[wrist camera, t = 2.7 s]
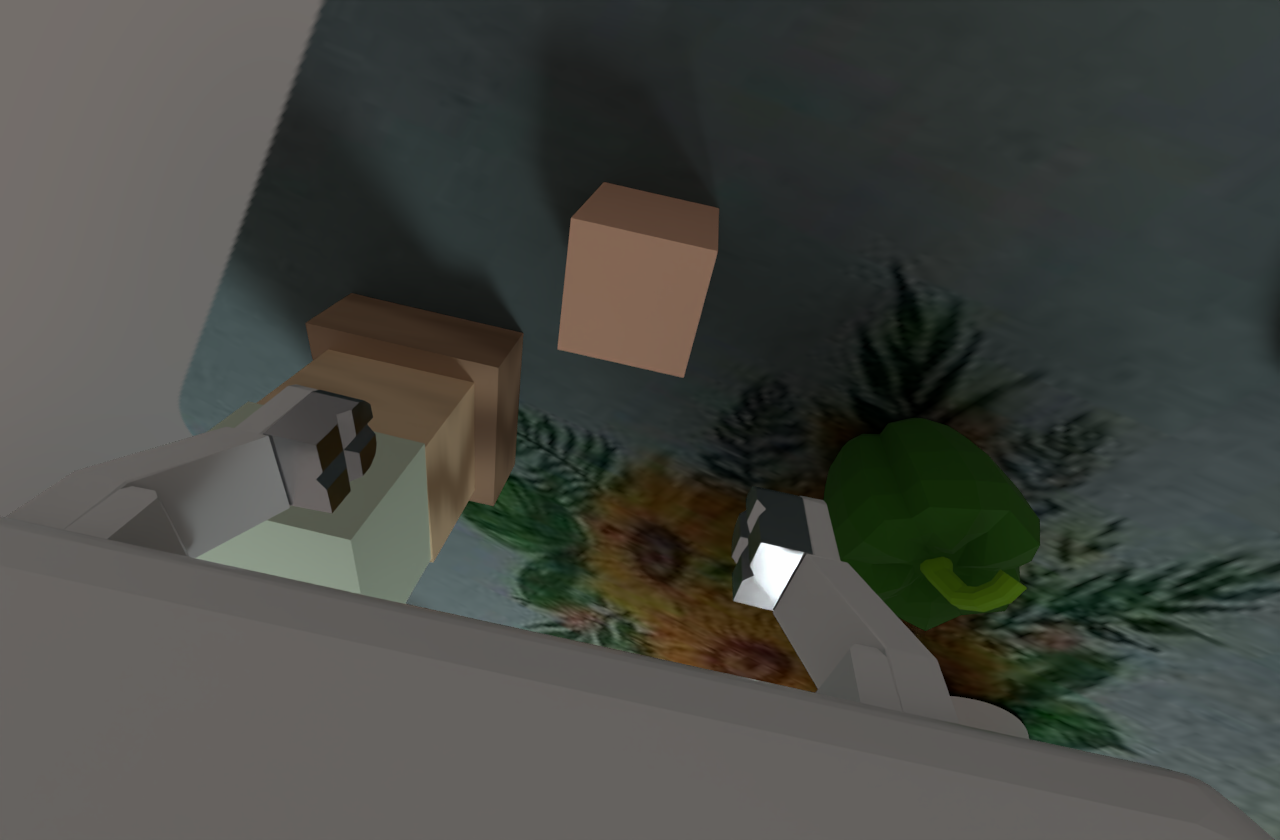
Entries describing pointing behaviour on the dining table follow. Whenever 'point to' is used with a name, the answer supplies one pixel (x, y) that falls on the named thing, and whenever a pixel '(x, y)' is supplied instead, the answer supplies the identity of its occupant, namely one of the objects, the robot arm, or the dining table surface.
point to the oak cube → (410, 423)
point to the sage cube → (347, 529)
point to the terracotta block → (637, 278)
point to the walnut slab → (439, 367)
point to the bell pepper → (930, 522)
